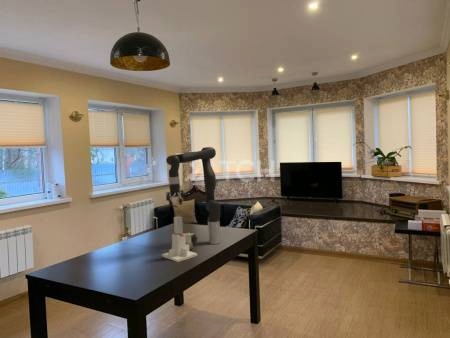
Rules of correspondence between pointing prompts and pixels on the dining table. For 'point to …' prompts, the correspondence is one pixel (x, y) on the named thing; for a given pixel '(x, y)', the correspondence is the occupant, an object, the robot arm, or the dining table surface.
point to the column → (178, 225)
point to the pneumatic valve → (190, 239)
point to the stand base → (179, 249)
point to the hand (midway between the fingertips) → (175, 205)
